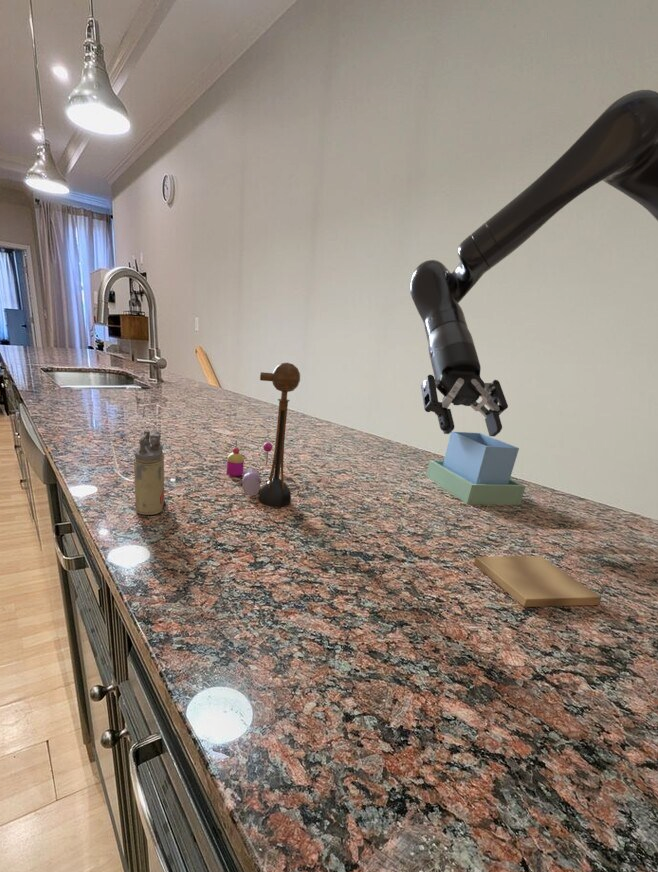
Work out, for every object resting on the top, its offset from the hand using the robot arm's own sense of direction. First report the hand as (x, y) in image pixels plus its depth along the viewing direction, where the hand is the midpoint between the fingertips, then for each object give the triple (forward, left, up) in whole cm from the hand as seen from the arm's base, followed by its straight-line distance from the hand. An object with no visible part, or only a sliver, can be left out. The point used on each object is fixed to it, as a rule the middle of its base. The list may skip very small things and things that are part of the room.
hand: (472, 432), depth 74 cm
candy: (+36, -6, -11) cm, 38 cm away
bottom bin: (0, +3, -11) cm, 11 cm away
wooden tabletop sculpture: (+34, +5, -11) cm, 36 cm away
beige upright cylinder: (+52, +8, -11) cm, 53 cm away
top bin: (0, +3, -10) cm, 11 cm away
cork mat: (+8, +29, -11) cm, 32 cm away
